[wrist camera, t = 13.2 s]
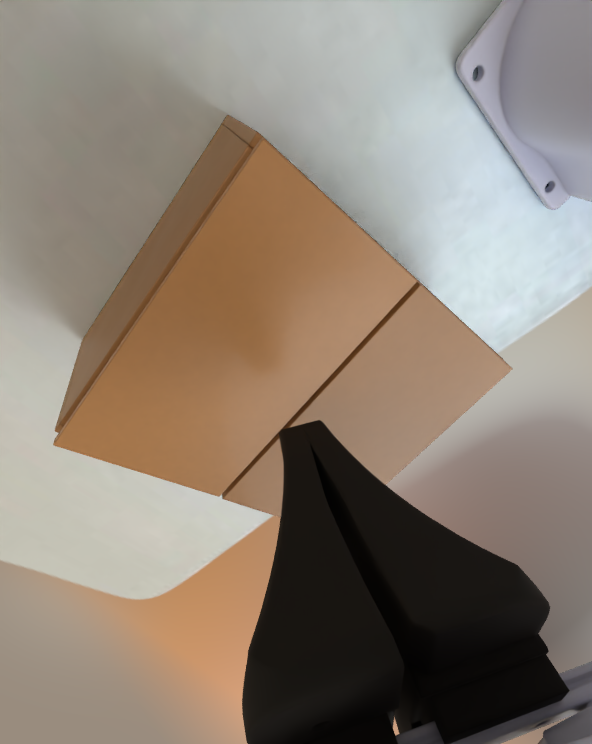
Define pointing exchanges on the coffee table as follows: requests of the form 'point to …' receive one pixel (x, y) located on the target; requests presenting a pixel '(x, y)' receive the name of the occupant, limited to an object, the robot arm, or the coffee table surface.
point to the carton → (347, 383)
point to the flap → (238, 332)
